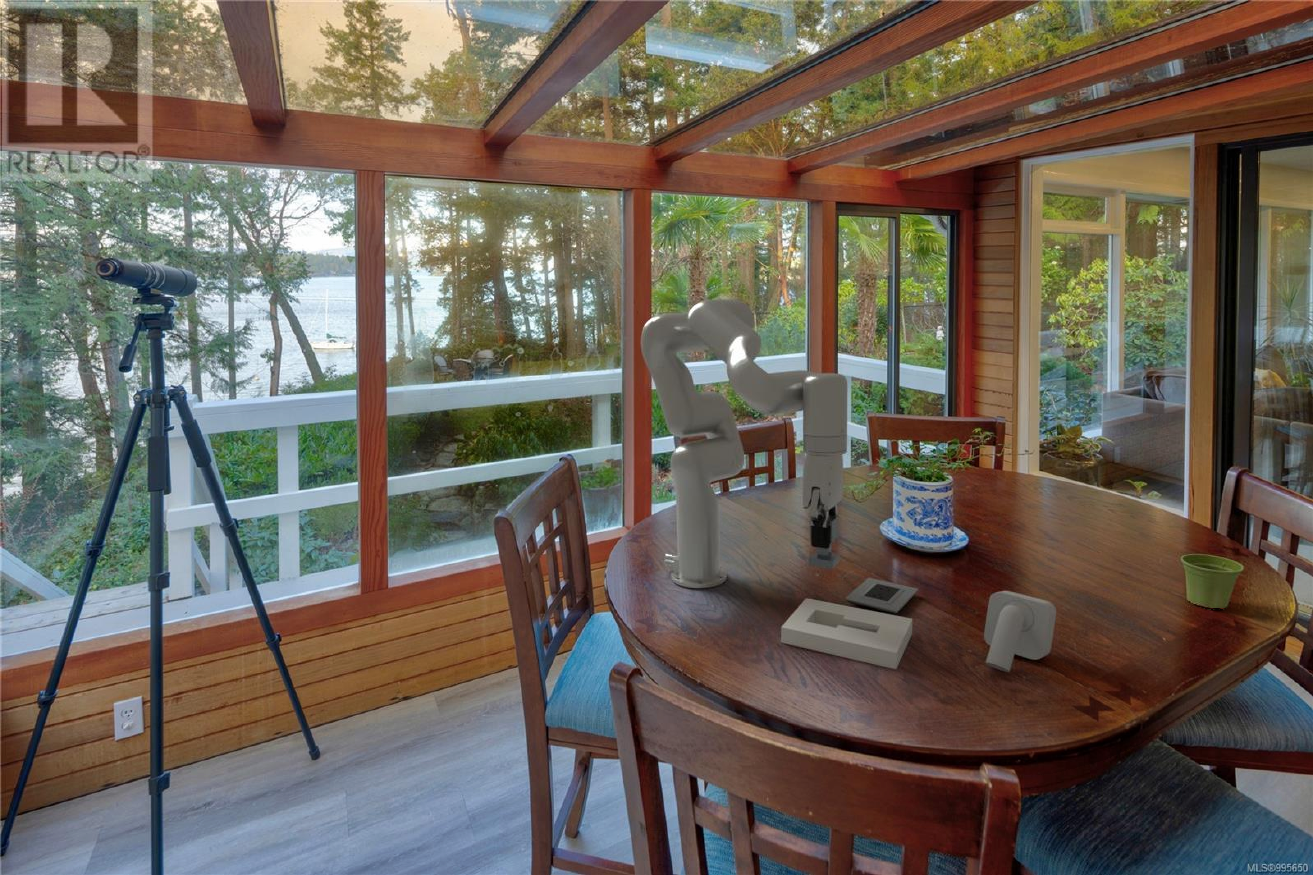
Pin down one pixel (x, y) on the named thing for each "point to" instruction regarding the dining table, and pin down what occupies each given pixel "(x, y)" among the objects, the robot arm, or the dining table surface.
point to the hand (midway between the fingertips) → (824, 542)
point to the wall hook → (1017, 628)
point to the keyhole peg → (826, 556)
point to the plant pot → (1210, 579)
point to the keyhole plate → (848, 632)
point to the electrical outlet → (881, 595)
